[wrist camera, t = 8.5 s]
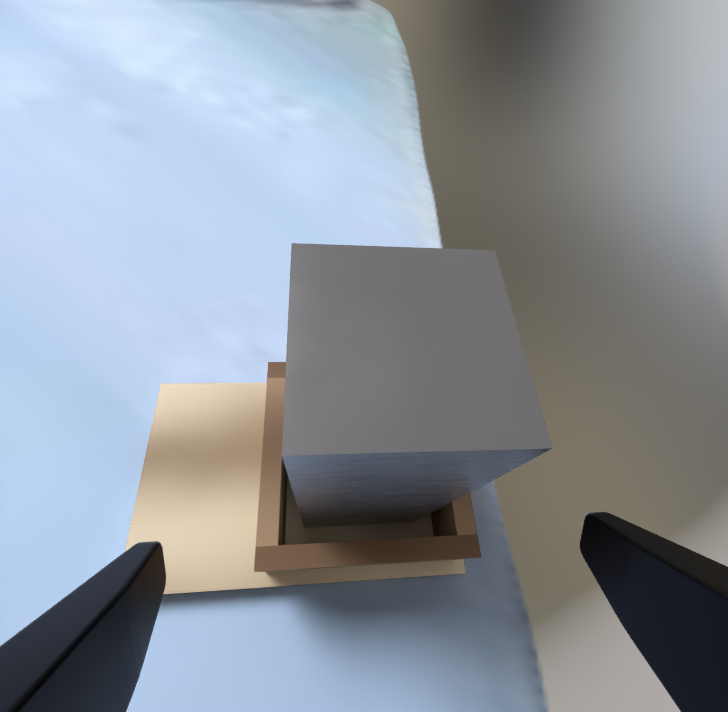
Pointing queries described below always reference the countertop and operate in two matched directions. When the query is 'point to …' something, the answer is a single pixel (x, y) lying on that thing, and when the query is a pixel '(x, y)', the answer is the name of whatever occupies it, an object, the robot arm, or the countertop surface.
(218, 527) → the stand
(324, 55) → the countertop surface
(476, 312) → the post
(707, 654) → the robot arm
